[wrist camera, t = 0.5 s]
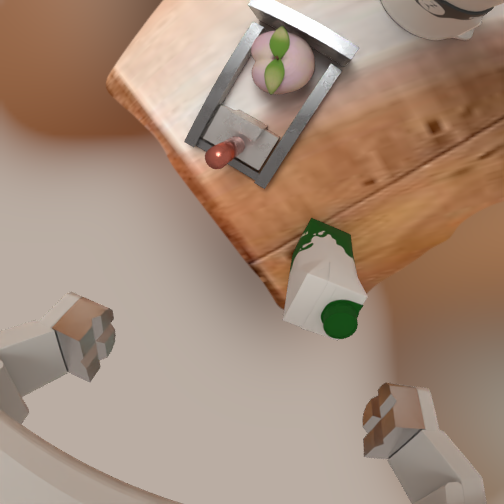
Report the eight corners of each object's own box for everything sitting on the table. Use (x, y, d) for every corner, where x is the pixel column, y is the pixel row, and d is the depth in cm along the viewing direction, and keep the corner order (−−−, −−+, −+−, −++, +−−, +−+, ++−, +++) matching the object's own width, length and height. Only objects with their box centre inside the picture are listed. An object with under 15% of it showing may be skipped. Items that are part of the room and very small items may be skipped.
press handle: (225, 102, 44) (200, 104, 34) (281, 134, 45) (272, 144, 35) (206, 136, 47) (177, 148, 37) (260, 168, 48) (245, 188, 38)
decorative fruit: (314, 96, 41) (315, 95, 33) (258, 95, 43) (245, 94, 34) (313, 37, 37) (313, 21, 28) (257, 37, 39) (243, 22, 30)
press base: (266, 10, 36) (255, -8, 28) (350, 57, 38) (359, 47, 30) (190, 139, 48) (166, 148, 40) (267, 184, 49) (257, 202, 41)
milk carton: (335, 273, 54) (340, 356, 37) (287, 254, 54) (272, 333, 37) (358, 231, 50) (377, 305, 32) (307, 210, 50) (303, 276, 32)
